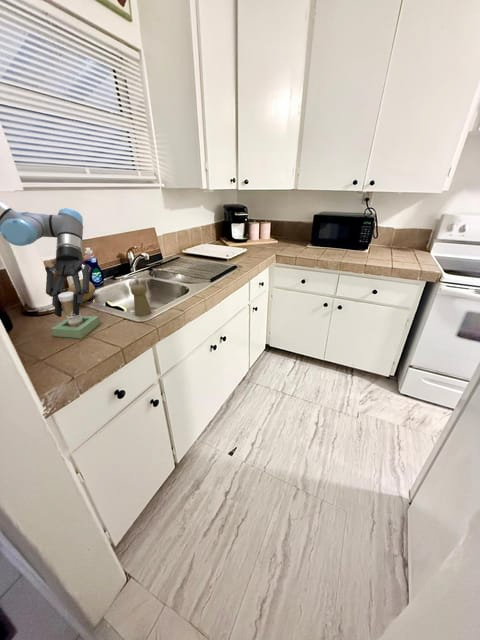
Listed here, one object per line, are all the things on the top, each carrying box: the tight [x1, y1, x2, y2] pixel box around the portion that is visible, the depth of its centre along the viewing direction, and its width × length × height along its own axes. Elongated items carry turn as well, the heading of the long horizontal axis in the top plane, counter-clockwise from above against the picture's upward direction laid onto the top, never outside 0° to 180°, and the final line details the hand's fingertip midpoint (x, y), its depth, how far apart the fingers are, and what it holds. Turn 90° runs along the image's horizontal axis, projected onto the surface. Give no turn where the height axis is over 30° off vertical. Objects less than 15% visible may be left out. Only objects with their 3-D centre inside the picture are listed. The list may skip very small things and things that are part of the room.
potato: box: [67, 278, 96, 303], centre depth 111 cm, size 10×14×8 cm
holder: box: [51, 314, 101, 339], centre depth 89 cm, size 10×10×3 cm
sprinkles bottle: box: [58, 291, 83, 327], centre depth 87 cm, size 5×5×14 cm
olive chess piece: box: [130, 284, 152, 317], centre depth 99 cm, size 6×6×11 cm
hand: (67, 314), depth 83 cm, fingers closed on sprinkles bottle, 5 cm apart
